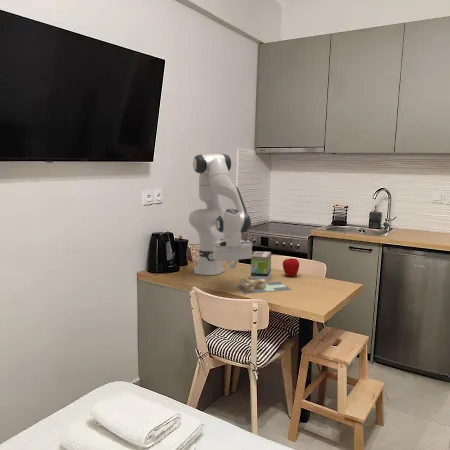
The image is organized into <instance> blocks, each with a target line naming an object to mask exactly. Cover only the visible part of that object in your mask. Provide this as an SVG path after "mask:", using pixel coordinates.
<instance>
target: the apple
mask: <svg viewBox="0 0 450 450" xmlns="http://www.w3.org/2000/svg"><path fill="white" fill-rule="evenodd" d="M282 269H283V272H284V274H285V275H286V276H287V277H296V275H297V274H298V272H299V269H300V261H299V260H298V259H297V258H292V257H291V258H286V259H284V260H283V262H282Z"/></svg>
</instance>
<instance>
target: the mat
mask: <svg viewBox="0 0 450 450" xmlns="http://www.w3.org/2000/svg"><path fill="white" fill-rule="evenodd" d="M234 286H235V288H237V289H238V290H239V291H240V292H241V293H242V294H244V295H250V294H251V295H252V294H259V293H261V294H262V293H271V292H281V291H282V292H283V291H292V289H291V288H290V286H287V285H286V284H285V283H283V282H281V281H270V282H269V281H267V282H266V288H265V289H254V292H248V293H247V292H245V291H244V290H243V289H242V288H241V287H240V286H239V284H237V285H234Z"/></svg>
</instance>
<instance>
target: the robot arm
mask: <svg viewBox="0 0 450 450" xmlns="http://www.w3.org/2000/svg"><path fill="white" fill-rule="evenodd" d="M192 168H193V171H194V172H195V173H197V174H199V176H198V197H199V199H200V201H201V202H203V203H205V205H206V208H201V209H196V210H192V211H191V212H190V213H189V215H188V222H189V224H190V226H191V227H192V228H193V229H195V230H196V232H197V234H198V237H199V238H198V239H199V249H198V250H199V251H198V255H199V256H198V258H197V260H195V261H194V265H195V266H193V274H195V275H201V276H202V275H203V276H214V275H215V276H216V275H219V274H222V273H225V269H224V268H223V262H224V261H227V263H228V264H229V269H237V265H238V263H239V260H247V259H248V260H249V259H251V258H252V256H253V243H252V241H250V240H242V233H244V234H245V233H247V232H248V231H249V230H250V229H251V227H252V220H251V217H250V215H249V213H248V212H247V211H248V210H247V209H246V207H245V204H244V200H243V197H242V195H241V192H240V190H239V188H238V187H237V186H236V185H235V184H234V182H232V179H231V177H230V172H229V171H230V170H231V168H232V160H231V158H230V155H228V154H224V153H223V154H222V153H207V154H197V155H195V156H194V157H193V162H192ZM219 195H220V196H223V197H226V198H228V199H230V200H231V201H232V202H233V205H234V208H235V209H234V208H228V209H227V208H226V209H225V208H224V207H223V206H222V204H221V202H220V199H219ZM212 227H215V229H216V230H217V231H218V232H219V233H222V234H223V237H222V238H220V239H219V236H218V235H217V234H215V233H214V232H212ZM232 261H234V263H232Z"/></svg>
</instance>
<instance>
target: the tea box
mask: <svg viewBox="0 0 450 450" xmlns="http://www.w3.org/2000/svg"><path fill="white" fill-rule="evenodd" d="M252 255H253V256H252V258H251V260H250V280H257V279H264V280H266V282H269V280H270V277H271V276H272V275H271V274H272V273H271V271H272V270H271V269H272V268H271V267H272V252H271V251H260V250H259V251H257V250H256V251H253V252H252Z"/></svg>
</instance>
